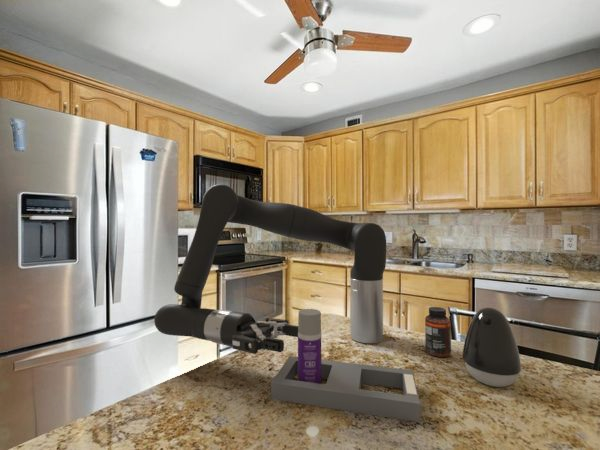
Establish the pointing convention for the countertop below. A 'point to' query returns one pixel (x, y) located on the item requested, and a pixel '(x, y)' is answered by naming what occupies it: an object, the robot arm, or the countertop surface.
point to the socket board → (351, 389)
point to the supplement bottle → (438, 332)
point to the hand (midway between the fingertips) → (292, 338)
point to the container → (309, 346)
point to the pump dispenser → (491, 349)
